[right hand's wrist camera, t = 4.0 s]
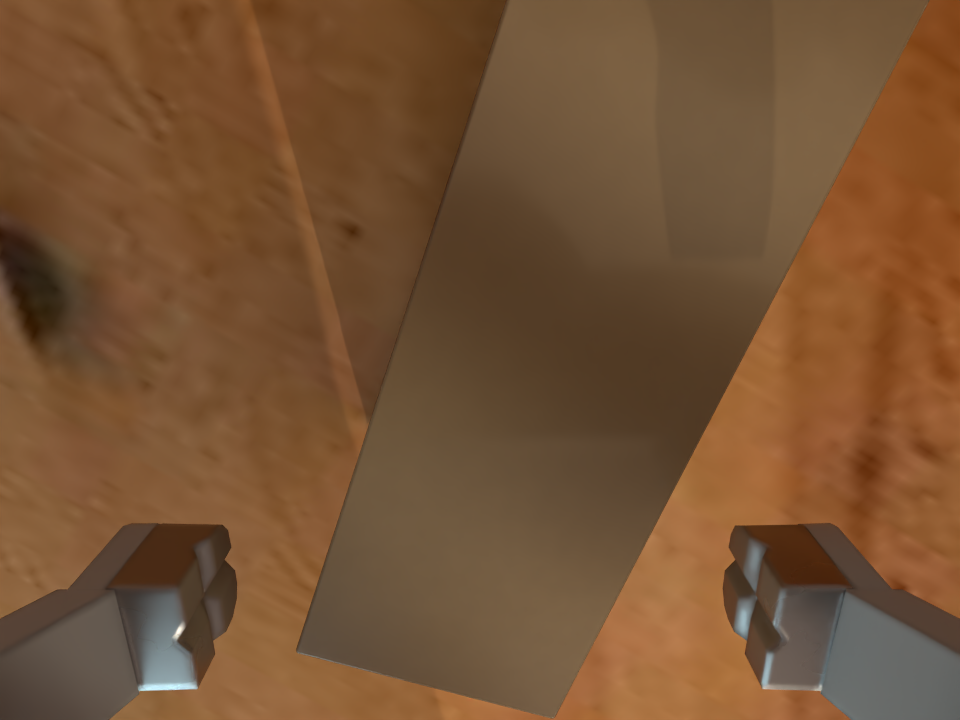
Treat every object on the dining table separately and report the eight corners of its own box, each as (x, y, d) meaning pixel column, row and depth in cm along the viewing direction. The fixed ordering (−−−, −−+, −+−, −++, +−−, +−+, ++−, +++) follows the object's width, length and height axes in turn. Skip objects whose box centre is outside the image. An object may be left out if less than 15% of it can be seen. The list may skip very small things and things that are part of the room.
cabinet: (565, -175, 16) (682, -550, 7) (762, -88, 17) (1103, -327, 8) (368, 430, 22) (294, 654, 13) (521, 476, 23) (555, 721, 14)
